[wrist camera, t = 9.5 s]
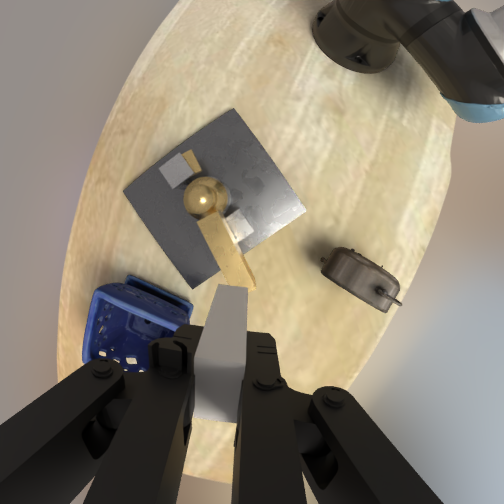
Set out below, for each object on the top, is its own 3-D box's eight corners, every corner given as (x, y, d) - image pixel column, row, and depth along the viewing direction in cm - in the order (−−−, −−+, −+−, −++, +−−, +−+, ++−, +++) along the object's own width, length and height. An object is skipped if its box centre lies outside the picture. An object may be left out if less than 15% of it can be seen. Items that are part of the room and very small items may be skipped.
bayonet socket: (234, 111, 36) (231, 94, 29) (304, 210, 39) (317, 213, 32) (126, 191, 38) (105, 190, 31) (194, 286, 41) (184, 303, 34)
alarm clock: (309, 264, 41) (346, 303, 25) (327, 233, 40) (376, 255, 24) (362, 295, 42) (412, 341, 26) (379, 267, 42) (438, 301, 26)
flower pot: (128, 262, 40) (91, 285, 29) (203, 297, 42) (189, 333, 30) (110, 329, 42) (79, 363, 31) (178, 360, 44) (161, 404, 32)
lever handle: (167, 163, 32) (150, 156, 26) (204, 144, 32) (194, 132, 26) (227, 284, 36) (224, 303, 29) (263, 267, 35) (268, 283, 29)
